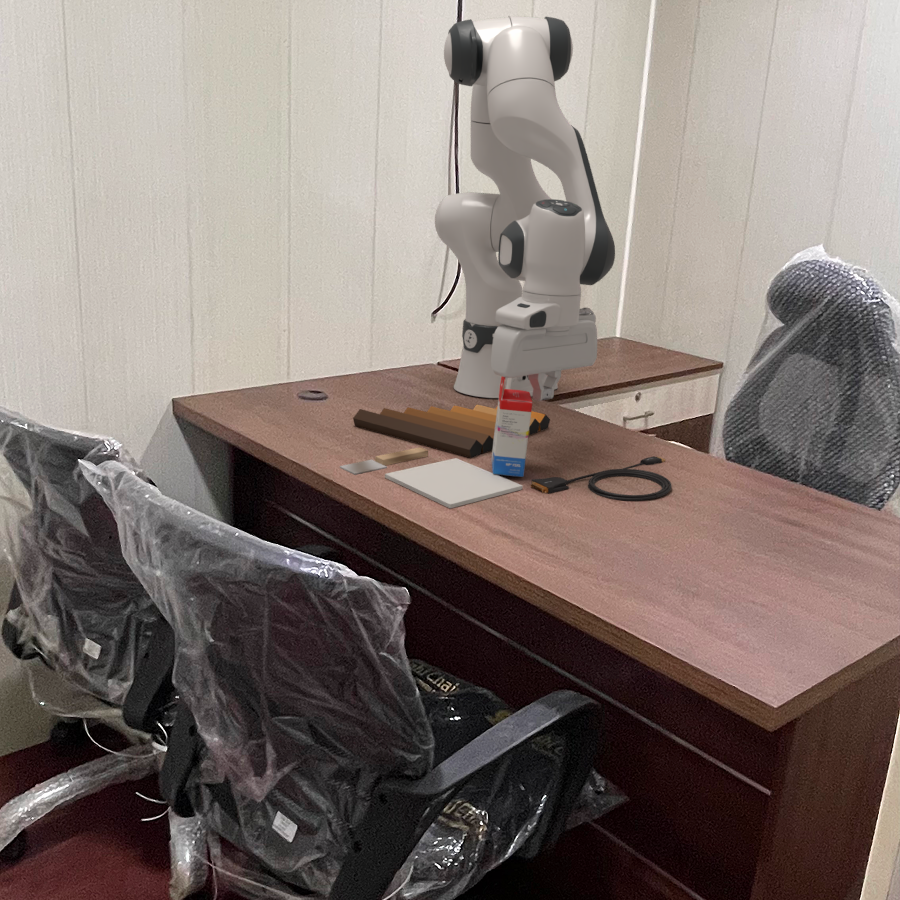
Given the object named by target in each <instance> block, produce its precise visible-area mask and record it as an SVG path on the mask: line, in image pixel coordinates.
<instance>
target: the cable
mask: <svg viewBox="0 0 900 900" xmlns="http://www.w3.org/2000/svg"><path fill="white" fill-rule="evenodd" d="M664 462H666V459H665V458H664V457H661V456H659V455H658V456H657V455H656V456H655V455H654V456H650V457H644V458H643V459H641V460H640V461H639V463H636V464H633V465H629V466H627V467H623V468H611V469H606V470H600V471H598V472H594V473H590V474H585V475H582V476H578V477H574V478H570V479H565V478H563V477H561V476H551V477H545V478H533V479H531V482H530V488H531V489H532V488H534V489H537V490H538V491H541V492H542V493H541V494H544V493H545V494H548V495H550V494H553V493H554V494H555V493H556V492H562V491H565V490H569V489H570V486H569V485H568V484H569V483H573V482H577V481H580V480H584V479H587V478H589V479H588V484H587V488H588V489H589V491H590V492H591V493H593V494H595V495H597V496H599V497H602V498H606V499H609V500H616V501H623V502H624V501H626V502H636V501H637V502H639V501H641V502H642V501H647V500H649V501H650V500H652V499H653V500H656V499H659V498H660V497H663V496H665V495H667V494H668V493H670V491H671V490H672V487H673V485H672V482H671V480H669V479H668V478H667V477H665V476H663V475H661V474H659V473H656V472H653V471H649V470H643V469H637V468H635V467H640V466H644V465H645V466H649V465H650V466H653V465H657V464H662V463H664ZM614 477H615V478H617V477H628V478H629V477H630V478H631V477H632V478H640V479H643V480H648V481H651V482H653V483H656V484H658V485H659V486H660V487H661V489H660V490H658V491H655V492H652V493H645V494H623V493H622V494H621V493H615V492H611V491H607V490H604V489H601V488H599V487H598V486H596V483H597V482H598V481H601V480H603V479H609V478H614Z"/></svg>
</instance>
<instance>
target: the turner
mask: <svg viewBox="0 0 900 900" xmlns="http://www.w3.org/2000/svg"><path fill="white" fill-rule="evenodd" d="M374 457H375V459H367V460H362V461H358V462H353V463H348V464H344V465H340V466H339V468H340V469H342V470H344V471H346V472H347V473H349V474H352V475H354V476H356V475H361V474H364V473H370V472H374V471H380V470H383V469H387V468H388V466H390V465H395V464H400V463H404V462H408V461H412V460H417V459H421V458H422V459H423V458H427V457H429V450H428V449H426V448H424V447H422V446H421V447H420V446H419V447H416V448H415V447H414V448H408V449H405V450H399V451H395V452H390V453H389V452H388V453H385V454H380V455H376V456H374Z"/></svg>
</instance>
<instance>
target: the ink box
mask: <svg viewBox="0 0 900 900" xmlns="http://www.w3.org/2000/svg"><path fill="white" fill-rule="evenodd" d="M505 383H506V378H505V377H501V384H500V391H499V398H497V406H498V408H497V416H496V423H495V432H494V440H493V449H492V450H491V468H492V473H493V474H496V475H498V476H500V475H501V476H508V477H509V476H510V477H521V478H523V477H524V475H525V468H526V459H527V449H528V441H529V435H528V434H529V426H530V418H531V411H533V400H532V399H533V398H532V396H530V393H529V392H527V391H522V390H513V389H505Z"/></svg>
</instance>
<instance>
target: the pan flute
mask: <svg viewBox="0 0 900 900" xmlns="http://www.w3.org/2000/svg"><path fill="white" fill-rule="evenodd" d="M497 408H498V405H497V406H496V407H495V408H494V407H489V406H484V405H480V404H476V405H475V406H474V407H473V409H471V408H467V407H463V406H459V405H453V406H452V408H451V409H450V410H449V409H443V408H441V407H440V408H439V407H436V406H432V405H431V406H429V408H428V410H426V411H425V410H420V409H417V408H413V407H406V409H405V410H404V411H403V412H400V411H397V410H393V409H390V408H386V407H383V409H382V410H381V412H380V413H376V412H373V411H369V410H365V409H363V408H359V410H358V411H357V412H356V414H355V415H354V416H353V417H352V419H353V424H354V427H357V428H361V429H364V430H368V431H370V432H375V433H378V434H383V435H385V436H390V437H393V438H395V439H401V440H403V439H404V441H407V442H410V443H415V444H418V445H421V446H425V447H429V446H430V447H429V448H432V447H433V449H436V448H437V450H440V451H444V452H447V453H451V454H455V455H458V456H462V457H465V458H470V459H472V458H475V457H478V456H480V455H481V453H482V454H485V453H489V452H490V451H491V452H492V449H493V440H494V432H495V423H496V416H497ZM550 421H551V419H550V417H549V416H547V414H544V413H542V412H537V411H533V410H532V411H531V418H530V426H529V434H528V436H532V435H535V434H537V433H538V432H543V431H544V430H547V429H549V426H550Z"/></svg>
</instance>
